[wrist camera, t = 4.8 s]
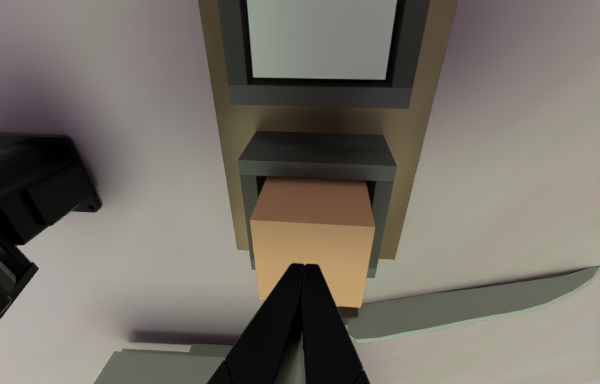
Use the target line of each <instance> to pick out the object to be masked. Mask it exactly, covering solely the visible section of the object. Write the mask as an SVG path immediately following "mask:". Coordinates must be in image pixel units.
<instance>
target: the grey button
mask: <svg viewBox="0 0 600 384" xmlns="http://www.w3.org/2000/svg"><path fill="white" fill-rule="evenodd" d="M396 3H397V0H247V7H248V19H249V32H250V44H251V56H252V68H253V77H259V78H319V79H379V80H385V77H386V70H387V64H388V57H389V50H390V44H391V37H392V30H393V23H394V17H395V10H396Z"/></svg>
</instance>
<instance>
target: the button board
mask: <svg viewBox="0 0 600 384" xmlns="http://www.w3.org/2000/svg"><path fill="white" fill-rule="evenodd" d="M457 1H458V0H397V3H396V10H395V17H394V23H393V30H392V37H391V44H390V50H389V57H388V64H387V70H386V77H385V80H379V79H319V78H259V77H253V68H252V56H251V44H250V32H249V19H248V7H247V0H198V2H199V8H200V15H201V21H202V28H203V34H204V40H205V47H206V53H207V59H208V66H209V72H210V78H211V85H212V91H213V97H214V104H215V110H216V116H217V123H218V129H219V135H220V142H221V148H222V154H223V161H224V167H225V173H226V180H227V186H228V193H229V199H230V205H231V212H232V218H233V224H234V231H235V237H236V243H237V249H238V250H249V251H250V259H251V267H252V270H256V268H255V259H254V251H253V242H252V234H251V225H250V218H251V216H252V213H253V211H254V208H255V206H256V203H257V201H258V198H259V195H260V193H261V190H262V188H263V185H264V183H265V180H266V178H267V176H279V177H302V178H325V179H348V180H366V185H367V190H368V195H369V199H370V204H371V209H372V214H373V218H374V223H375V232H374V237H373V243H372V249H371V254H370V260H369V265H368V271H367V277H366V278H375V274H376V269H377V264H378V259H393V260H395V256H396V252H397V248H398V244H399V239H400V235H401V231H402V227H403V223H404V219H405V215H406V211H407V207H408V202H409V198H410V194H411V190H412V186H413V182H414V178H415V174H416V169H417V165H418V161H419V157H420V153H421V149H422V145H423V141H424V136H425V132H426V128H427V124H428V120H429V116H430V112H431V108H432V104H433V99H434V95H435V91H436V87H437V83H438V79H439V75H440V71H441V66H442V62H443V58H444V54H445V50H446V46H447V42H448V38H449V34H450V29H451V25H452V21H453V17H454V13H455V9H456V5H457Z"/></svg>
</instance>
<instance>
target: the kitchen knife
mask: <svg viewBox="0 0 600 384" xmlns="http://www.w3.org/2000/svg"><path fill="white" fill-rule="evenodd" d="M599 271H600V266H596V267H589V268H586V269H584V270H581V271H578V272H574V273H571V274H568V275H565V276H561V277H554V278H546V279H539V280H532V281H525V282H518V283H511V284H504V285H497V286H490V287H483V288H476V289H467V290H458V291H449V292H440V293H431V294H425V295H419V296H413V297H406V298H400V299H394V300H388V301H382V302H376V303H370V304H364V305H361V308H356V307H344V306H340V307H337V308H338V310H339V313H340V315H341V317H342V320H343V322H344V324H345V325H348V334H349V336H350V338H352V339H353V340H354V341H356V342H357V343H364V342H376V341H384V340H389V339H394V338H399V337H403V336H408V335H414V334H421V333H427V332H432V331H437V330H441V329H446V328H451V327H455V326H460V325H465V324H471V323H476V322H482V321H487V320H493V319H499V318H504V317H510V316H516V315H522V314H525V313H529V312H532V311H536V310H540V309H543V308H546V307H548V306H550V305H552V304H555V303H557V302H559V301H561V300H563V299H565V298H568V297H570V296H572V295H574V294H575V293H577V292H578V291H580V290H581V289H583V288H584V287H586V286H587V285H589V284H590V283H591V282H592V281H593V279H594V278H595V276H596V275H597V274H598V272H599Z"/></svg>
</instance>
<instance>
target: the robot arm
mask: <svg viewBox="0 0 600 384" xmlns="http://www.w3.org/2000/svg"><path fill="white" fill-rule="evenodd" d="M63 142H64V143H63ZM100 208H101V205H100V203H99V200H98V198H97V196H96V194H95V191H94V189H93V187H92V185H91V183H90V180H89V178H88V176H87V174H86V171H85V169H84V167H83V165H82V163H81V160H80V158H79V156H78V154H77V151H76V149H75V147H74V145H73V143H72V141H71V139H69V138H68V137H67V136H64V135H40V134H11V133H0V319H1V318H2V316H3V315H4V314H5V312H6V311H7V310H8V308H9V307H10V306H11V305H12V303H13V302H14V301H15V299H16V298H17V297H18V295H19V294H20V293H21V291H22V290H23V289H24V288H25V286H26V285H27V284H28V282H29V281H30V280H31V278H32V277H33V276H34V274H35V273H36V272H37V271H38V269H39V268H38V267H37V266H36V265H35V264H34V262H30V261H29V260H28V258H27V257H26V256H25V255H24V254H23V253H22V252H21V251H20V250H19V249H18V248H17V246H19V245H25V244H26V243H27V242H29V241H30V240H31V239H33V238H34V237H35V236H37V235H38V234H39V233H41V232H42V231H43V230H45V229H46V228H47V227H49V226H52V225H54V224H55V223H56V222H58V221H59V220H60V219H62V218H63V217H64V216H66V215H67V214H68V213H70V212H71V211H77V212H97V211H98V210H99V209H100ZM302 335H303V353H304V370H305V384H370V382H369V380H368V377H367V375H366V373H365V371H364V370H363V366H362V364H361V361H360V359H359V357H358V354H357V352H356V350H355V347H354V345H353V343H352V341H351V338H350V336H349V334H348V331H347V329H346V327H345V324H344V322H343V320H342V317H341V315H340V313H339V310H338V308H337V306H336V303H335V301H334V299H333V296H332V294H331V292H330V289H329V287H328V285H327V282H326V280H325V278H324V275H323V273H322V271H321V268H320V266H319V265H318V264H309V263H307V264H305V265H304V264H303V263H291V264H290V265H289V267H288V268H287V270H286V271H285V273H284V274H283V275H282V277H281V278H280V280H279V281H278V283H277V284H276V285H275V287H274V288H273V290H272V291H271V293H270V294H269V295H268V297H267V298H266V300H265V301H264V303H263V304H262V305H261V307H260V308H259V310H258V311H257V313H256V314H255V315H254V317H253V318H252V320H251V321H250V323H249V324H248V325H247V327H246V328H245V330H244V331H243V333H242V334H241V335H240V337H239V338H238V340H237V341H236V343H235V344H234V345H233V347H232V348H231V350H230V351H229V353H228V354H227V355H226V357H225V360H223V361H222V362H221V364H220V365H219V367H218V368H217V370H216V371H215V372H214V374H213V375H212V377H211V378H210V379H209V381H208V382H207V383H206V384H294V383H295V378H296V372H297V366H298V361H299V355H300V349H301V343H302Z"/></svg>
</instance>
